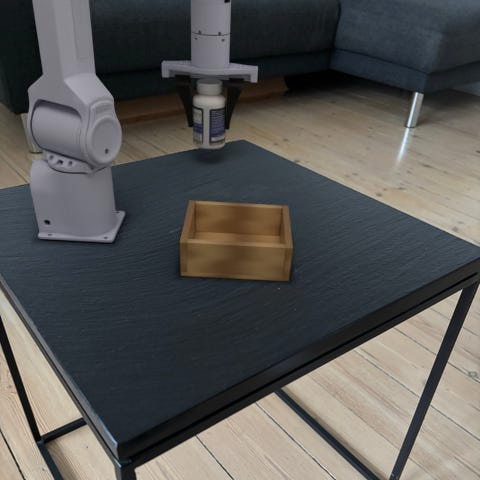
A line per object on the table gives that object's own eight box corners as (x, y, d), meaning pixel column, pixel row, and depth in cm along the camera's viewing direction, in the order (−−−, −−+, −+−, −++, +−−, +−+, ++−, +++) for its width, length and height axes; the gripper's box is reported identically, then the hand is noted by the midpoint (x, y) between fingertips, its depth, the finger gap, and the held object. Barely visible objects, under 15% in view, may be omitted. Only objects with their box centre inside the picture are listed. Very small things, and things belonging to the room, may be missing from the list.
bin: (180, 275, 60) (179, 241, 57) (189, 231, 68) (189, 200, 65) (288, 281, 60) (293, 248, 57) (284, 236, 68) (288, 205, 65)
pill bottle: (227, 140, 88) (229, 78, 82) (223, 151, 83) (225, 87, 77) (195, 137, 88) (195, 76, 82) (190, 148, 84) (189, 84, 78)
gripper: (259, 30, 79) (254, 121, 87) (164, 24, 79) (168, 116, 87) (260, 39, 73) (253, 135, 82) (157, 33, 73) (162, 130, 81)
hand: (209, 126), depth 84 cm, fingers closed on pill bottle, 5 cm apart
